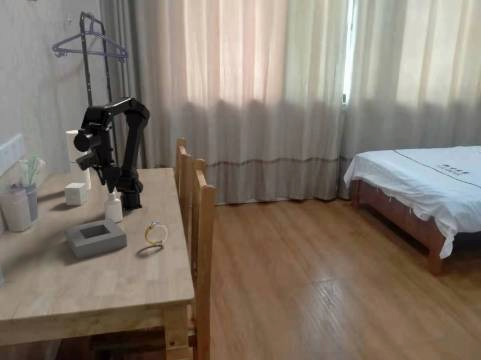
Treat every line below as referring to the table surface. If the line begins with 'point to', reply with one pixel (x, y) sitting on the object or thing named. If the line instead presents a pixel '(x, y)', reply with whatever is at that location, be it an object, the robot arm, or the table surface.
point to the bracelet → (152, 228)
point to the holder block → (95, 238)
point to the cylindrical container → (74, 154)
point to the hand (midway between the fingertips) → (107, 189)
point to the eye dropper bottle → (113, 208)
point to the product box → (76, 193)
